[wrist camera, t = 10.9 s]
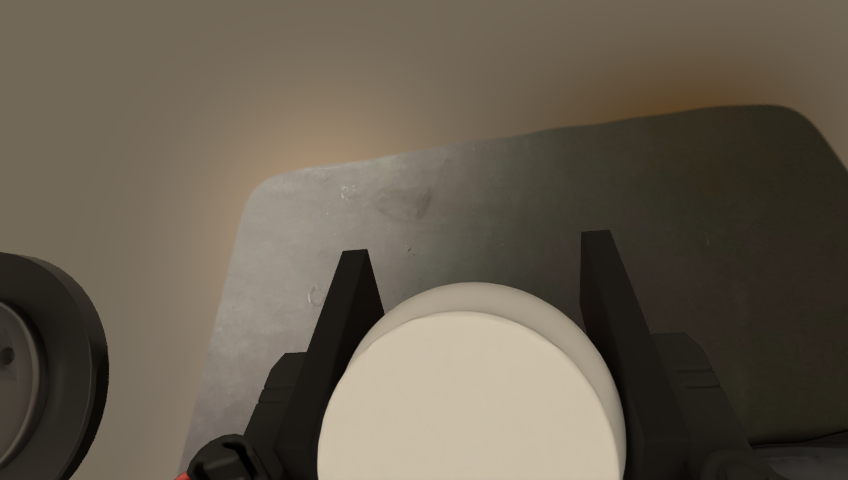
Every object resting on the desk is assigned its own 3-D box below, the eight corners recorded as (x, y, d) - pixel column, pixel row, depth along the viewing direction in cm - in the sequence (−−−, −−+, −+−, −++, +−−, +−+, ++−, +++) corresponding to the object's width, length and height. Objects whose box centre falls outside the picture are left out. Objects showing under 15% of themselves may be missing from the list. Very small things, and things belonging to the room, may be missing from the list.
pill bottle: (595, 464, 17) (734, 679, 7) (422, 490, 18) (295, 718, 7) (554, 287, 19) (615, 226, 8) (393, 317, 19) (250, 300, 9)
